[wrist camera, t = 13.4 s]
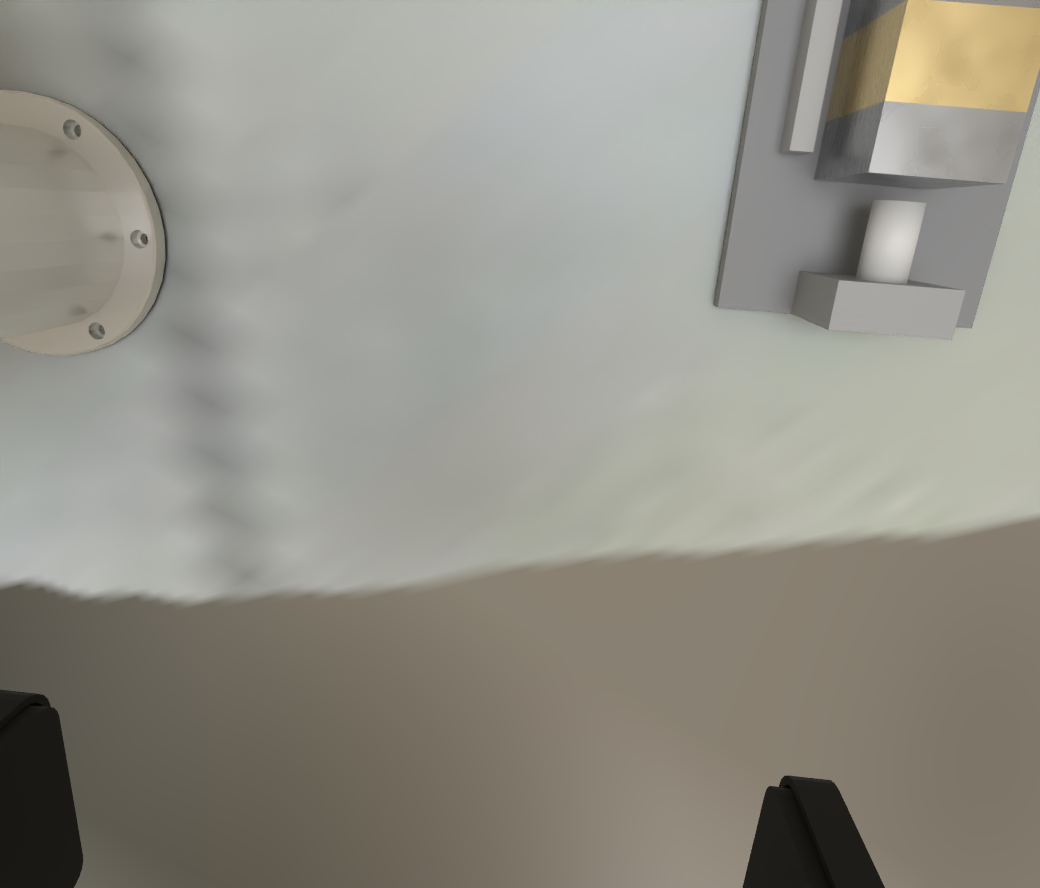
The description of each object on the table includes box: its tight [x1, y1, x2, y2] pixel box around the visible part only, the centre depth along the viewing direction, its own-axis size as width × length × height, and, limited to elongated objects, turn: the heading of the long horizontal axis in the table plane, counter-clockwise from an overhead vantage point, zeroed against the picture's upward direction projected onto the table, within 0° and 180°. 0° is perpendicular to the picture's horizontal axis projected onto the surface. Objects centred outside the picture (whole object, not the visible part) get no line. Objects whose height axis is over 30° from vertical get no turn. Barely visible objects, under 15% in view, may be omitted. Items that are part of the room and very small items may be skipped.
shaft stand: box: [714, 0, 1040, 340], centre depth 28 cm, size 20×12×6 cm, turn 176°
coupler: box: [814, 0, 1040, 190], centre depth 27 cm, size 8×5×6 cm, turn 175°
